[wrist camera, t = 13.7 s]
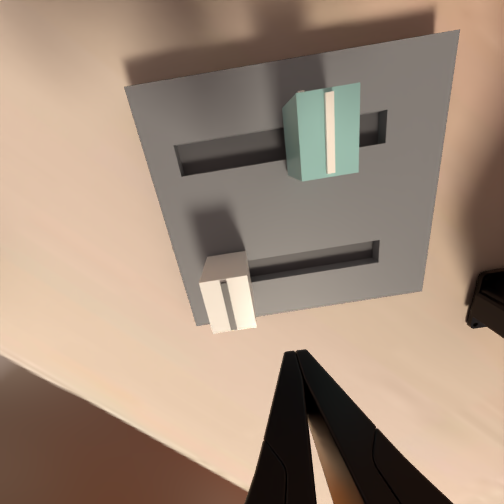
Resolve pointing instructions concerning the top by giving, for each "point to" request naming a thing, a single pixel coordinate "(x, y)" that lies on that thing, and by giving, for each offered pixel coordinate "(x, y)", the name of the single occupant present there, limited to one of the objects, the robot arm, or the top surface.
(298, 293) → the console
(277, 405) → the robot arm
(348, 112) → the fader
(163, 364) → the top surface
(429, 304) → the top surface
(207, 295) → the fader
